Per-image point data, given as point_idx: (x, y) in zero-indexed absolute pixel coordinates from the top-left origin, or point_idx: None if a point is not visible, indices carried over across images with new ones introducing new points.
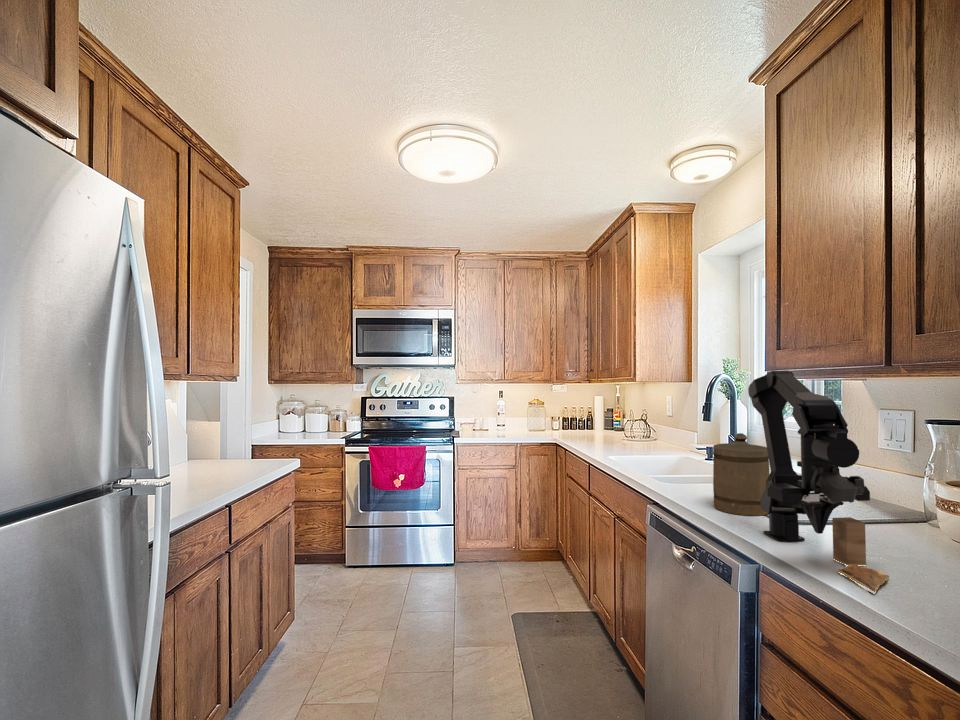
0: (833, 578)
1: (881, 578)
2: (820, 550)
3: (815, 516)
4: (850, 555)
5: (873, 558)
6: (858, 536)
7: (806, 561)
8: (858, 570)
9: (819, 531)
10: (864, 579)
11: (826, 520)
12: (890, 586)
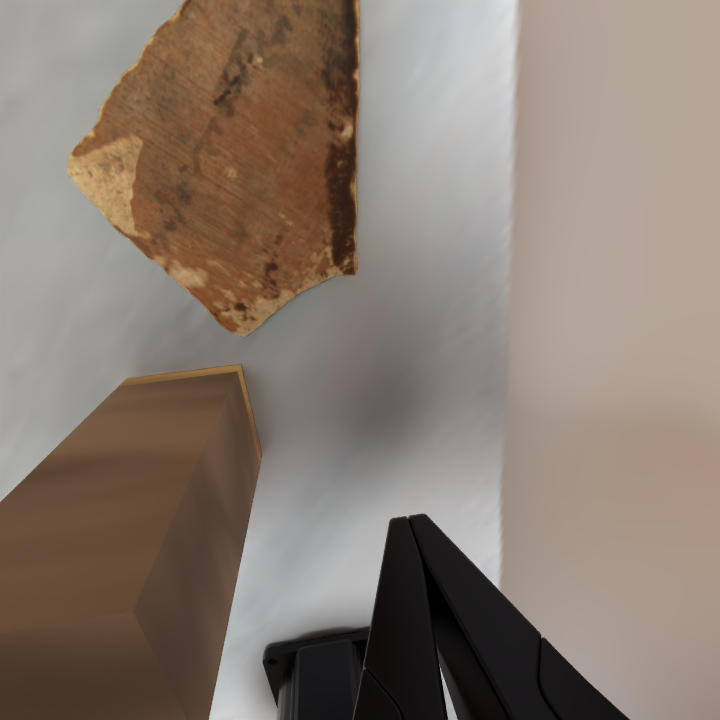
0: (427, 192)
1: (159, 73)
2: (255, 560)
3: (579, 676)
4: (205, 397)
5: None
6: (67, 499)
7: (411, 428)
8: (251, 224)
9: (424, 526)
10: (302, 52)
11: (387, 638)
12: (131, 37)
